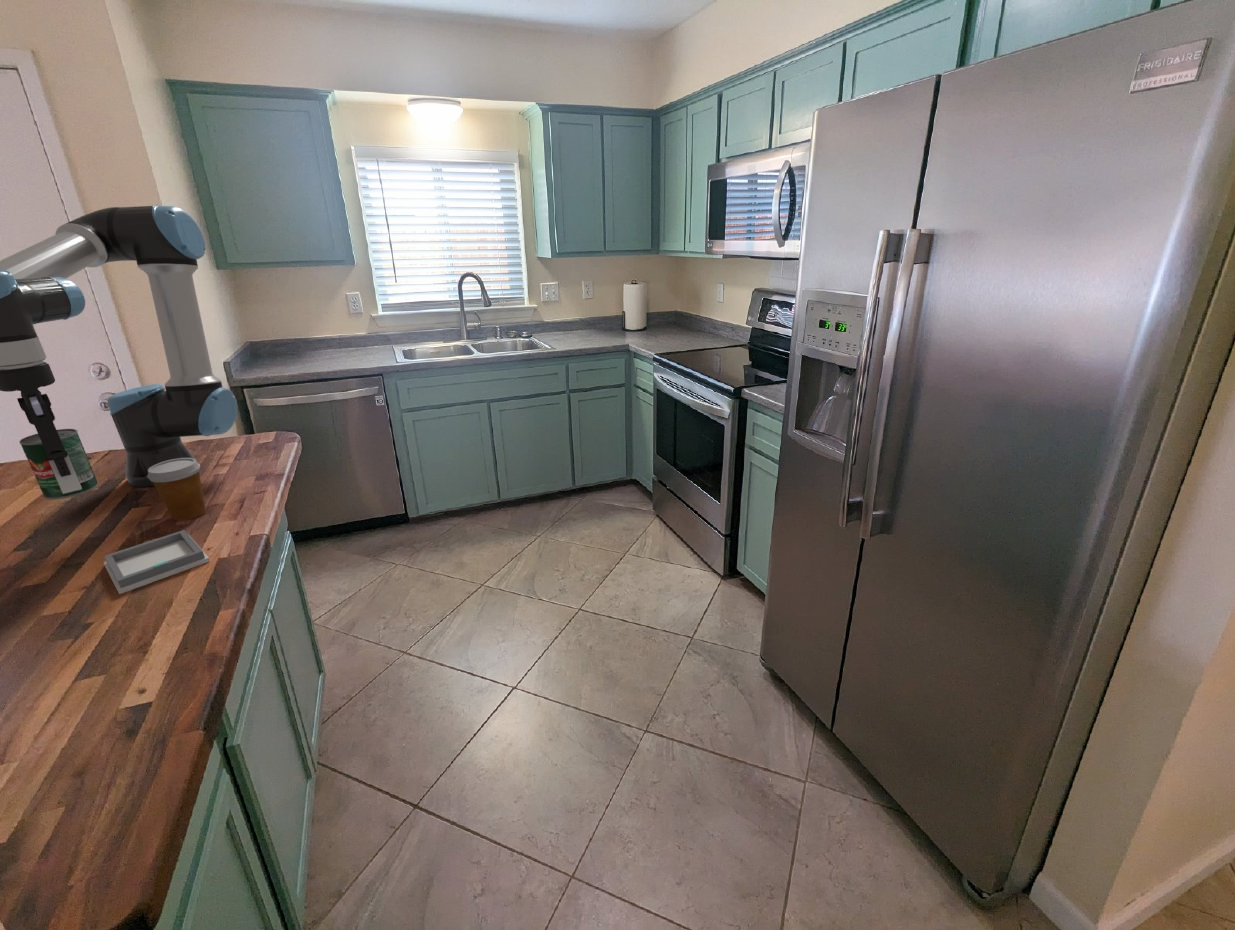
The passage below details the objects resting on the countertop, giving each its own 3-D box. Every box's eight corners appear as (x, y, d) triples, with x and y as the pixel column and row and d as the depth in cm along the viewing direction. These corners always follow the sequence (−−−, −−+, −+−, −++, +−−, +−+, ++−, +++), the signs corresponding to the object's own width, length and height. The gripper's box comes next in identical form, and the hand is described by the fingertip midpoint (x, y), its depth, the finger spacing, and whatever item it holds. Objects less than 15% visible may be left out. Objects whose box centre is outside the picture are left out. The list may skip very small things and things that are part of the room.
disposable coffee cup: (189, 525, 127) (171, 475, 122) (152, 522, 128) (133, 472, 124) (224, 506, 135) (208, 457, 130) (190, 503, 137) (173, 455, 132)
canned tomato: (36, 503, 105) (10, 446, 101) (52, 487, 112) (28, 433, 108) (92, 493, 109) (68, 438, 104) (104, 479, 115) (83, 426, 111)
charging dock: (104, 566, 112) (100, 555, 111) (190, 537, 122) (186, 527, 121) (119, 594, 103) (114, 582, 102) (210, 561, 113) (206, 550, 112)
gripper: (-14, 360, 105) (38, 476, 114) (-11, 377, 92) (48, 507, 101) (42, 353, 110) (88, 465, 119) (53, 368, 97) (103, 493, 106)
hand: (69, 484), depth 110 cm, fingers closed on canned tomato, 8 cm apart
